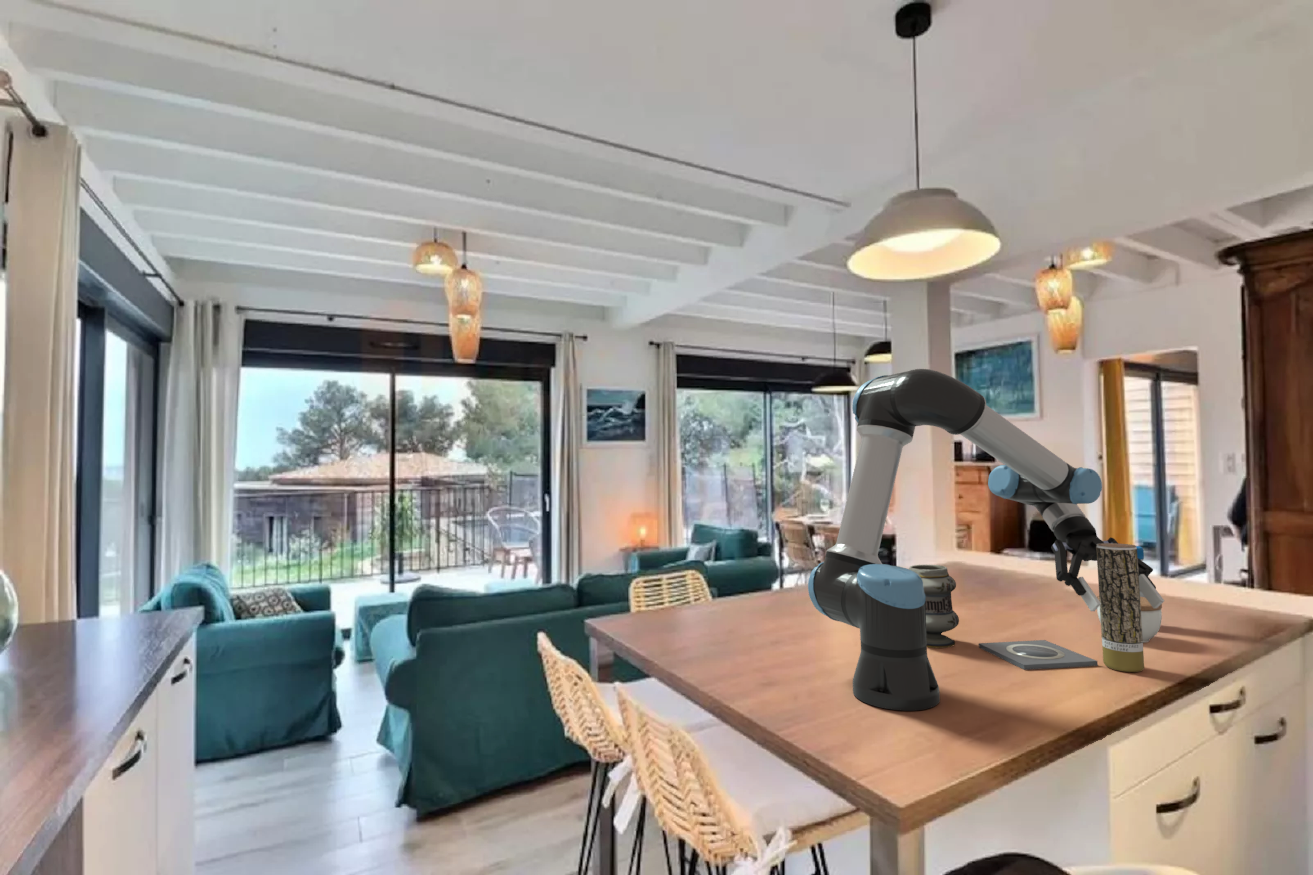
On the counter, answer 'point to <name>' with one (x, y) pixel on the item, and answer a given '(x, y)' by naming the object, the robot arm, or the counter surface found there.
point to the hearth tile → (1037, 654)
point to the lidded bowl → (1147, 619)
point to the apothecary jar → (937, 604)
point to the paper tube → (1120, 607)
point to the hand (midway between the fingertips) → (1127, 606)
